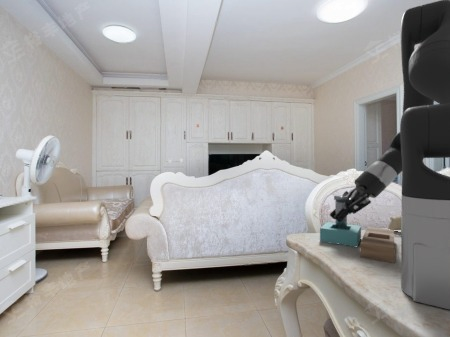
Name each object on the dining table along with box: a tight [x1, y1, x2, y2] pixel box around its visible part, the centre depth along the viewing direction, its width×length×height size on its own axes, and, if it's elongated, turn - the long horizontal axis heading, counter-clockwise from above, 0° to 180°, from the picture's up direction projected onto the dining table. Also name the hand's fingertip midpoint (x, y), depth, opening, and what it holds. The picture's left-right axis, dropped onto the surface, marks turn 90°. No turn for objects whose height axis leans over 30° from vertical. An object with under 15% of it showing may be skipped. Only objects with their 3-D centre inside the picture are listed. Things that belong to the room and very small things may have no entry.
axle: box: [333, 195, 348, 230], centre depth 76 cm, size 4×4×12 cm
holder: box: [319, 221, 362, 247], centre depth 76 cm, size 10×10×4 cm
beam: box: [360, 226, 396, 264], centre depth 68 cm, size 20×7×4 cm, turn 146°
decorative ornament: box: [387, 216, 401, 230], centre depth 87 cm, size 4×8×5 cm, turn 117°
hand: (334, 218), depth 77 cm, fingers closed on axle, 3 cm apart
